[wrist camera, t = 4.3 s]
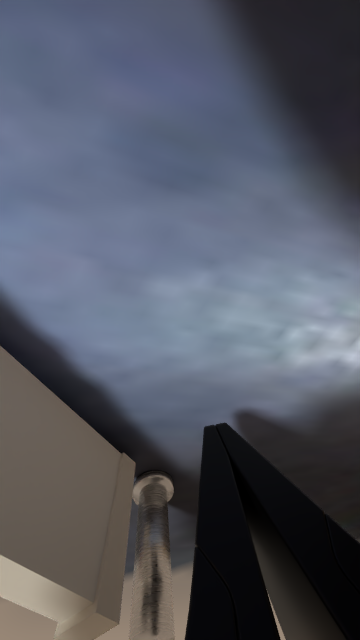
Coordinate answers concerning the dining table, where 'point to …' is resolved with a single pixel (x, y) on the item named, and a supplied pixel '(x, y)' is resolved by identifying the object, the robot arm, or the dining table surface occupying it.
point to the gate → (60, 509)
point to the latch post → (152, 560)
